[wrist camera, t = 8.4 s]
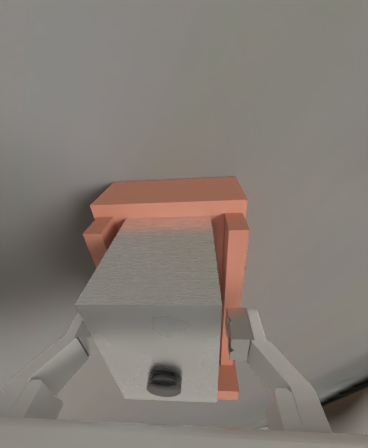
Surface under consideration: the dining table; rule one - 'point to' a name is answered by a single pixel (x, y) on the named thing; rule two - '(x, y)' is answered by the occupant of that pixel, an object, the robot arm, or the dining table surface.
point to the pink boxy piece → (185, 206)
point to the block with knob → (158, 309)
